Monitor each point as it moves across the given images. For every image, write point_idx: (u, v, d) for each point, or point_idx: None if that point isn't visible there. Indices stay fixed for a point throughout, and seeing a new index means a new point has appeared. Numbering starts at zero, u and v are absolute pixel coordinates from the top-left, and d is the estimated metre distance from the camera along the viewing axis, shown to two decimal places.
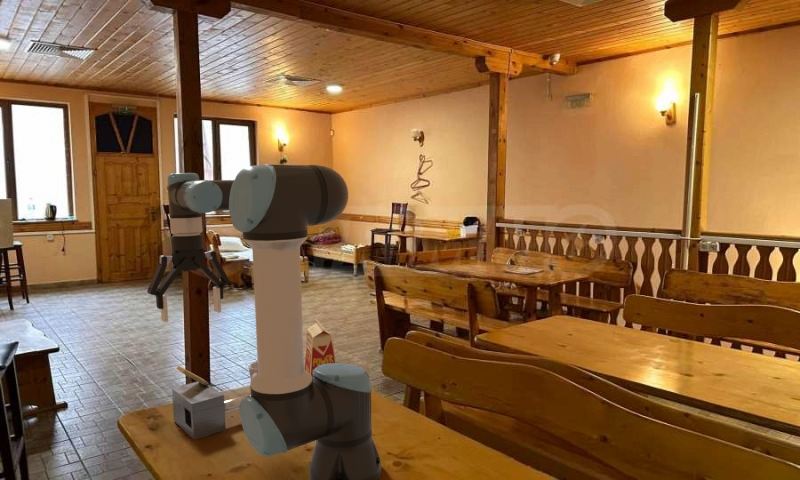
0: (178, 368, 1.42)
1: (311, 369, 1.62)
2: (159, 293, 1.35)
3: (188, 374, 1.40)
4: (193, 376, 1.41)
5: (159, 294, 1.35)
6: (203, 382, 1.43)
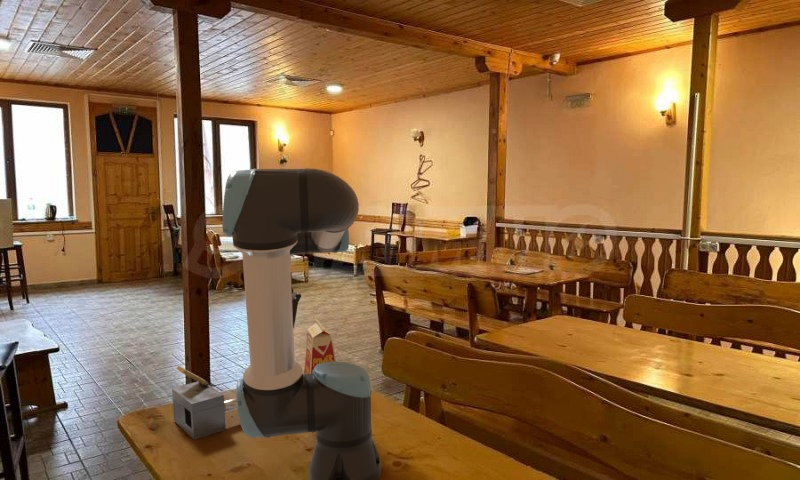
0: (178, 368, 1.42)
1: (311, 369, 1.62)
2: None
3: (188, 374, 1.40)
4: (193, 376, 1.41)
5: None
6: (203, 382, 1.43)
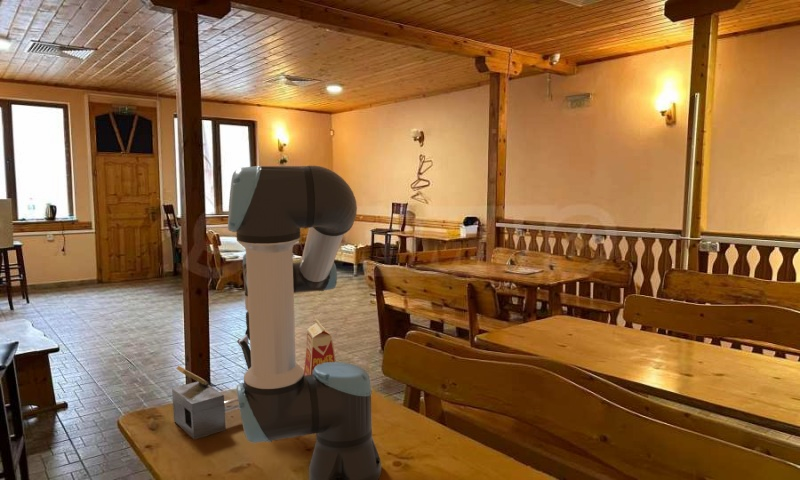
0: (178, 368, 1.42)
1: (311, 369, 1.62)
2: None
3: (188, 374, 1.40)
4: (193, 376, 1.41)
5: None
6: (203, 382, 1.43)
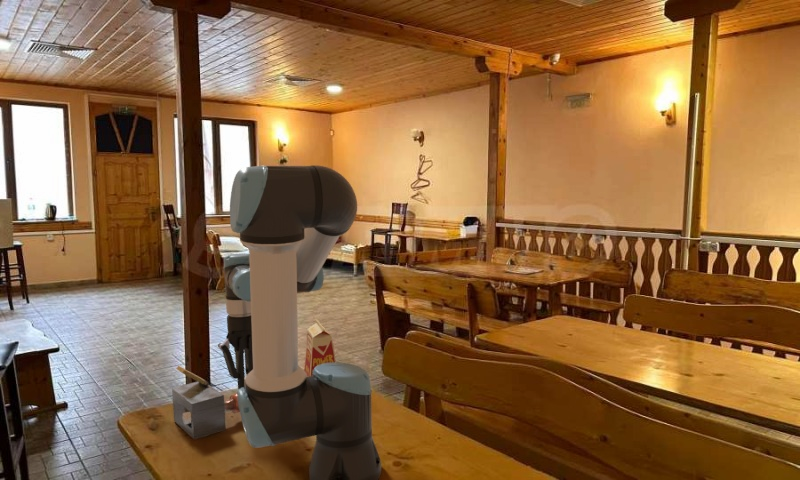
0: (178, 368, 1.42)
1: (311, 369, 1.62)
2: (241, 377, 1.42)
3: (188, 374, 1.40)
4: (193, 376, 1.41)
5: (241, 378, 1.42)
6: (203, 382, 1.43)
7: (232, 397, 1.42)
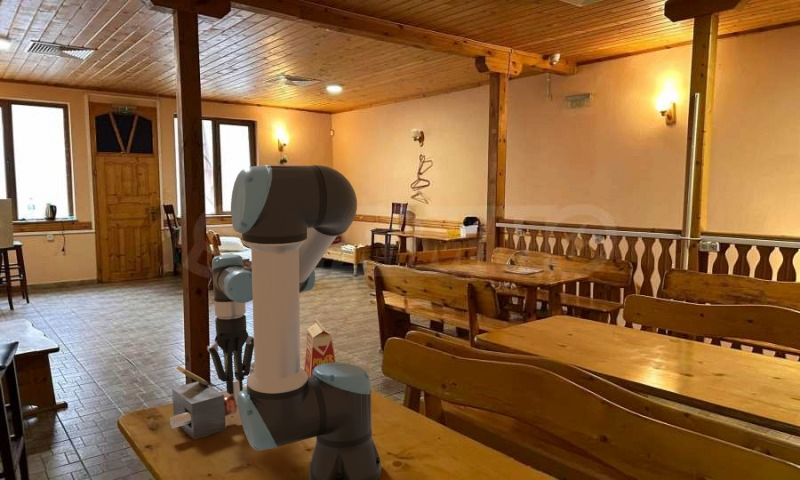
0: (178, 368, 1.42)
1: (311, 369, 1.62)
2: (230, 380, 1.40)
3: (188, 374, 1.40)
4: (193, 376, 1.41)
5: (230, 381, 1.40)
6: (203, 382, 1.43)
7: None
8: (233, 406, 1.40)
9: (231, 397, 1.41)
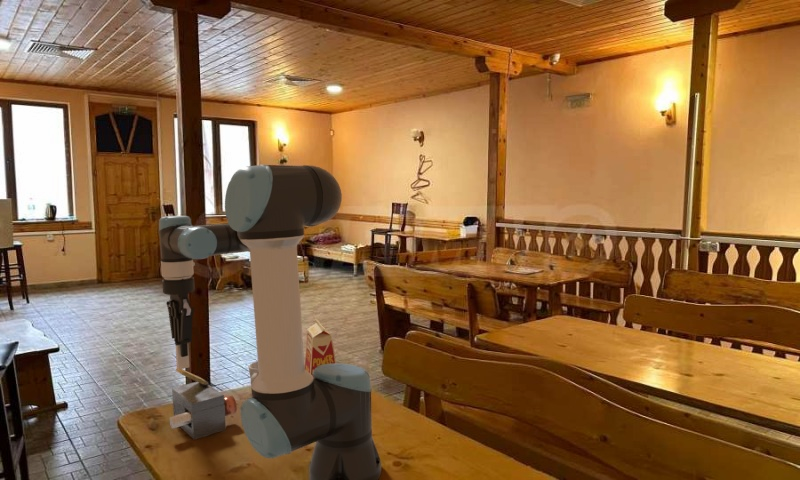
0: (177, 370, 1.42)
1: (311, 369, 1.62)
2: None
3: (187, 375, 1.40)
4: (193, 377, 1.41)
5: None
6: (203, 382, 1.43)
7: None
8: (233, 406, 1.40)
9: (231, 397, 1.41)
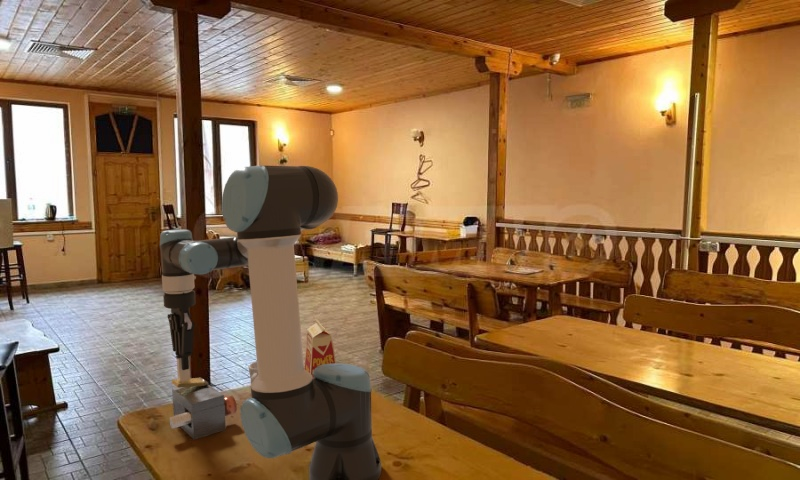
0: (173, 383, 1.41)
1: (311, 369, 1.62)
2: (175, 353, 1.42)
3: (184, 385, 1.40)
4: (190, 384, 1.41)
5: None
6: (202, 384, 1.43)
7: None
8: (233, 406, 1.40)
9: (231, 397, 1.41)
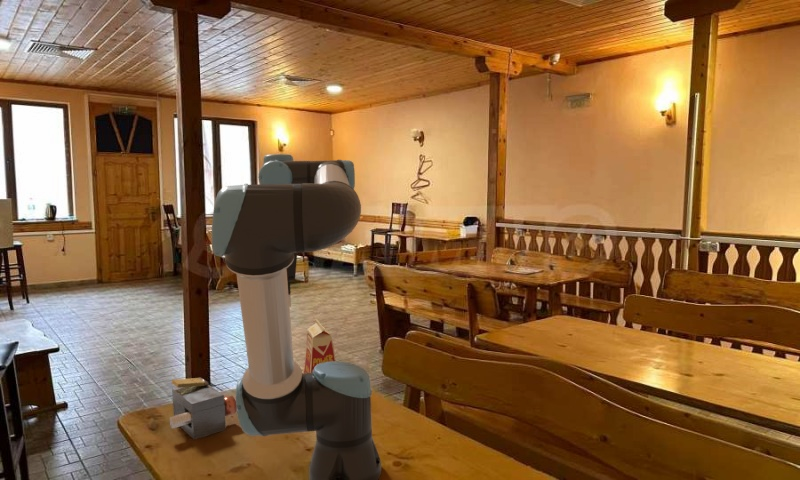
0: (173, 383, 1.41)
1: (311, 369, 1.62)
2: None
3: (184, 385, 1.40)
4: (190, 384, 1.41)
5: None
6: (202, 384, 1.43)
7: None
8: (233, 406, 1.40)
9: (231, 397, 1.41)
